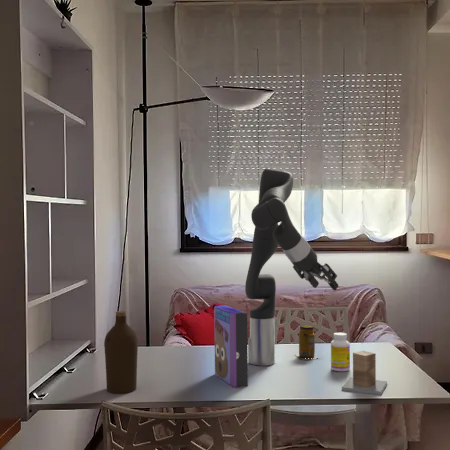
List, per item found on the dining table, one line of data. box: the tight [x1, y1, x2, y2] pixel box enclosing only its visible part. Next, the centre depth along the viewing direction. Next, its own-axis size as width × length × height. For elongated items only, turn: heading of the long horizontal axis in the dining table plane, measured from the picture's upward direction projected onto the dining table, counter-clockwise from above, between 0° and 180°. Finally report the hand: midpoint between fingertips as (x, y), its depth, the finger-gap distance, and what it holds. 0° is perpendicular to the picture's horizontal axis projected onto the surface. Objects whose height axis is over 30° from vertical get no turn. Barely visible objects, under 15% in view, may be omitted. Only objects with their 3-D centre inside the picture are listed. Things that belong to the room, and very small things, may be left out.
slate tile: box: [341, 376, 388, 396], centre depth 183 cm, size 12×12×1 cm
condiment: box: [295, 324, 319, 361], centre depth 222 cm, size 7×8×12 cm
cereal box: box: [213, 304, 249, 389], centre depth 192 cm, size 17×5×24 cm, turn 22°
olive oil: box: [103, 310, 139, 394], centre depth 183 cm, size 11×11×25 cm
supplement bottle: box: [330, 332, 351, 373], centre depth 204 cm, size 7×7×13 cm
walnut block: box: [352, 350, 377, 387], centre depth 182 cm, size 5×5×10 cm
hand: (326, 287), depth 179 cm, fingers open, 8 cm apart
